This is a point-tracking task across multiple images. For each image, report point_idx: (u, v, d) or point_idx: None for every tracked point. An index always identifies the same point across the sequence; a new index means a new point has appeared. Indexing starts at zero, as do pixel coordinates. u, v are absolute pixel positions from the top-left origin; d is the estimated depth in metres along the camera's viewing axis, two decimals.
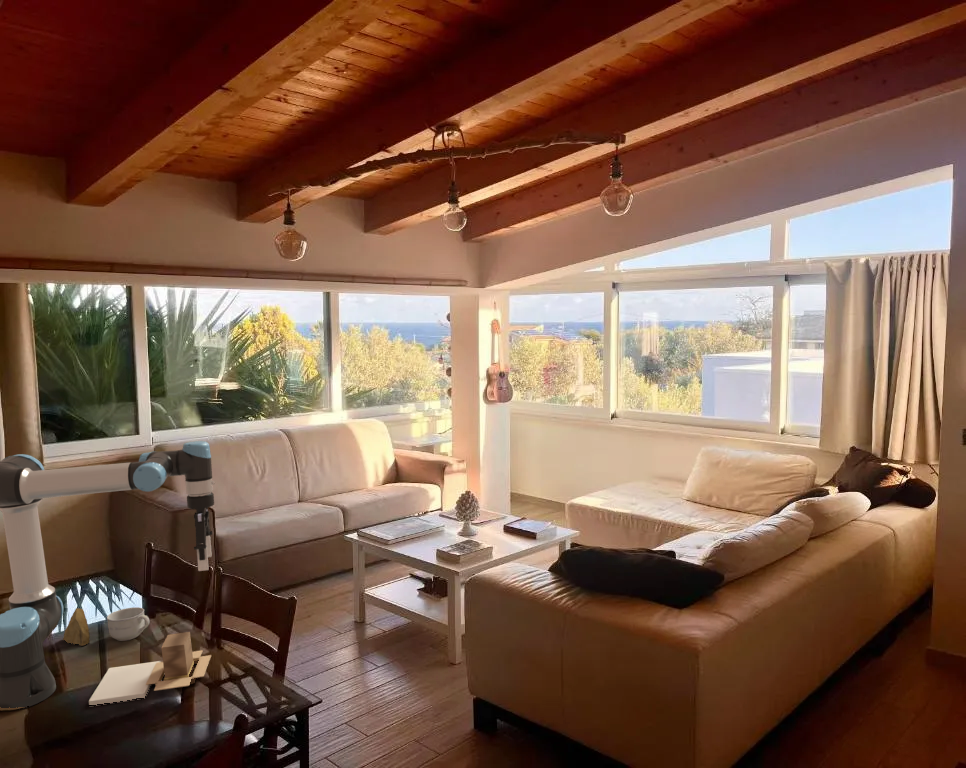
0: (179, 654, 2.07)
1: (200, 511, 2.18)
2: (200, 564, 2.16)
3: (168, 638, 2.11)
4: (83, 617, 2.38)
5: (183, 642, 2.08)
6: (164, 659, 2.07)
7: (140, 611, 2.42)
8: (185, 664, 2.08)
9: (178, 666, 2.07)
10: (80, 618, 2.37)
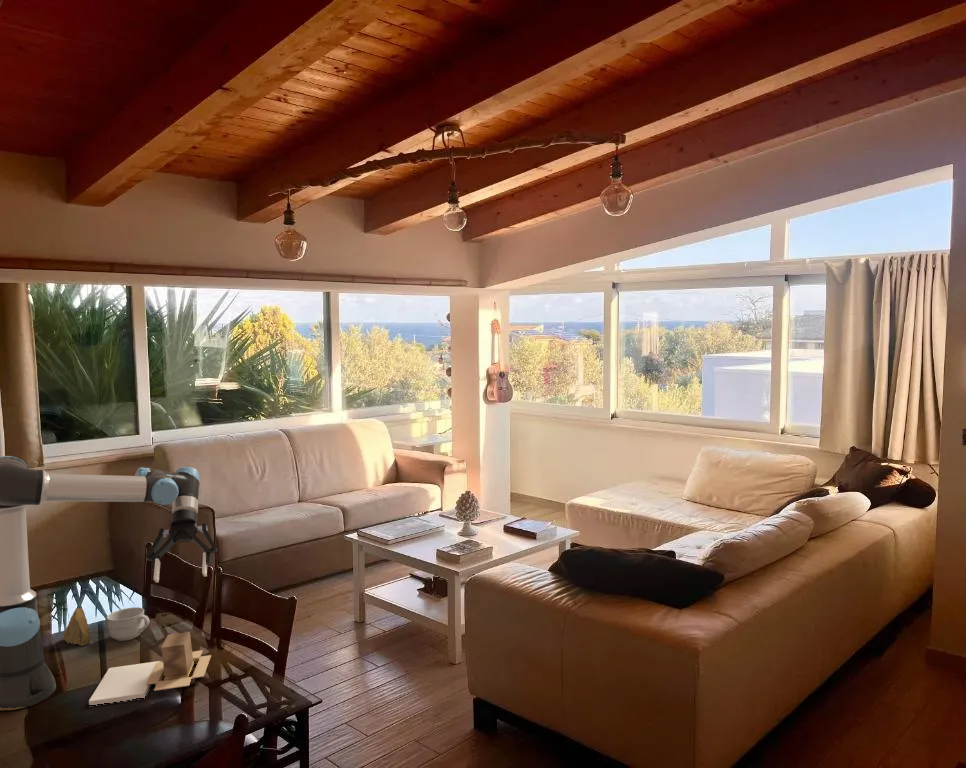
0: (179, 654, 2.07)
1: None
2: (205, 567, 2.22)
3: (168, 638, 2.11)
4: (83, 617, 2.38)
5: (183, 642, 2.08)
6: (164, 659, 2.07)
7: (140, 611, 2.42)
8: (185, 664, 2.08)
9: (178, 666, 2.07)
10: (80, 618, 2.37)
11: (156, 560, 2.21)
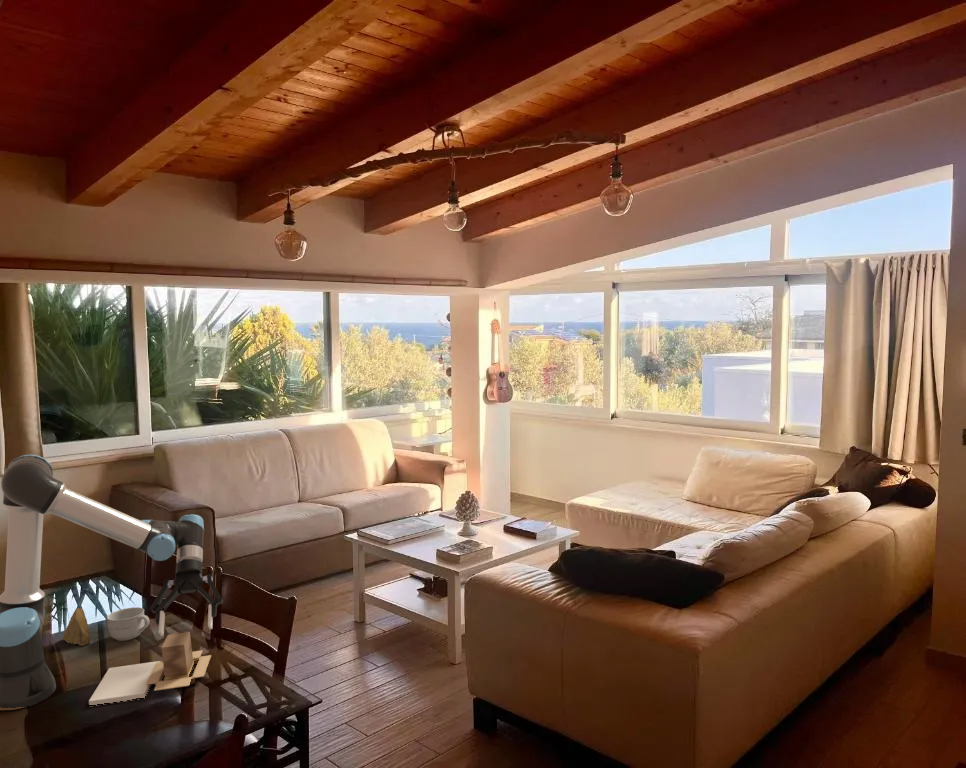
0: (179, 654, 2.07)
1: None
2: (211, 620, 2.19)
3: (168, 638, 2.11)
4: (83, 617, 2.38)
5: (183, 642, 2.08)
6: (164, 659, 2.07)
7: (140, 611, 2.42)
8: (185, 664, 2.08)
9: (178, 666, 2.07)
10: (80, 618, 2.37)
11: (161, 613, 2.18)
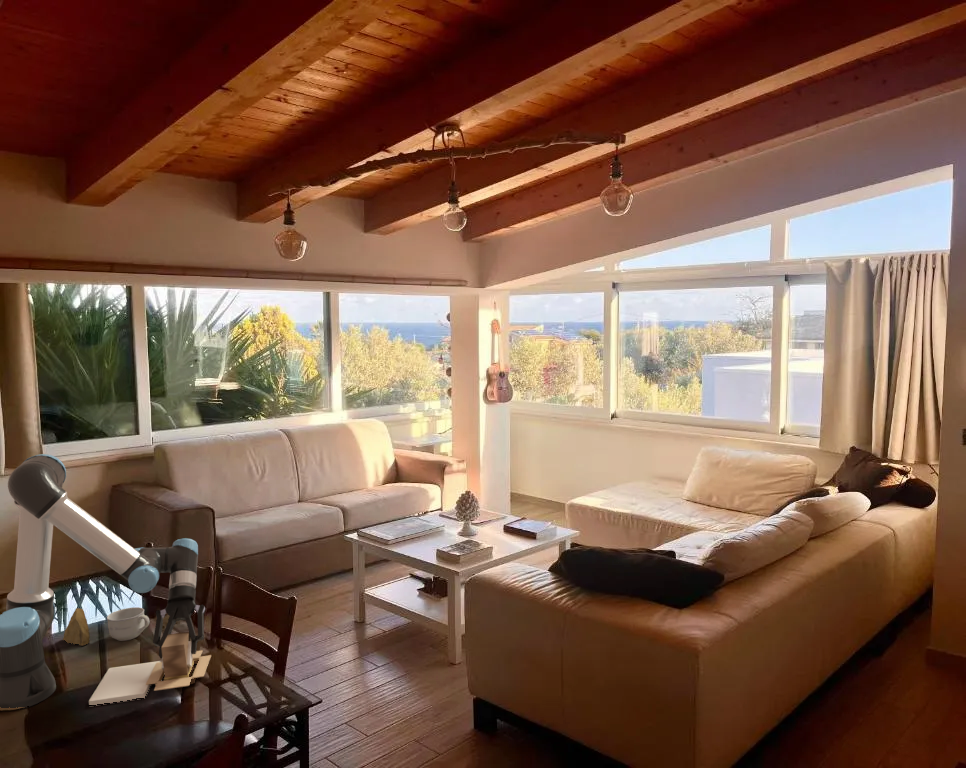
0: (179, 654, 2.07)
1: None
2: (190, 657, 2.10)
3: (168, 638, 2.11)
4: (83, 617, 2.38)
5: (183, 642, 2.08)
6: (164, 659, 2.07)
7: (140, 611, 2.42)
8: (185, 664, 2.08)
9: (178, 666, 2.07)
10: (80, 618, 2.37)
11: None
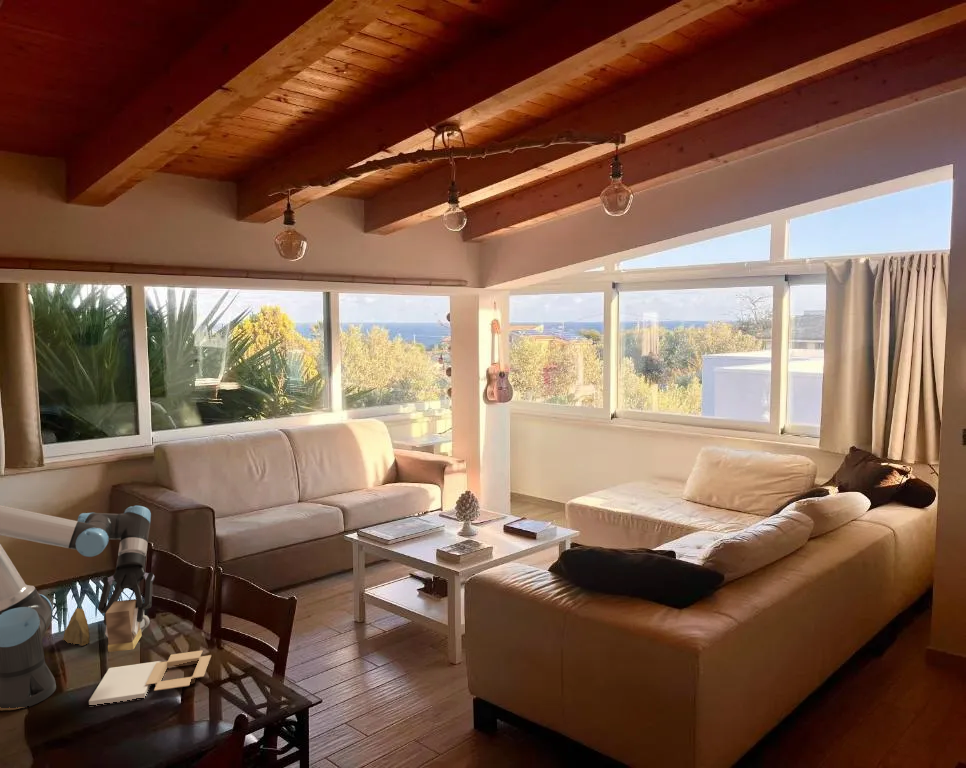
0: (124, 621, 2.02)
1: None
2: (135, 625, 2.05)
3: (114, 604, 2.07)
4: (83, 617, 2.38)
5: (128, 609, 2.03)
6: (108, 625, 2.02)
7: None
8: (130, 631, 2.03)
9: (122, 632, 2.03)
10: (80, 618, 2.37)
11: None
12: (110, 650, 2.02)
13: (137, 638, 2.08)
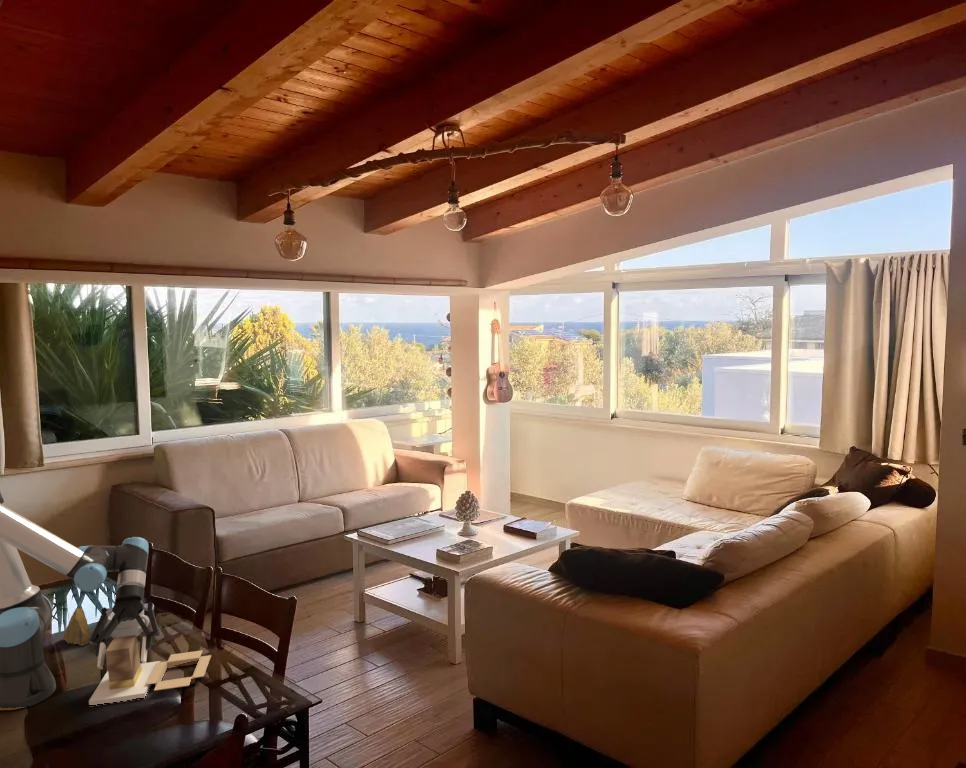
0: (124, 658, 2.04)
1: None
2: (144, 653, 2.07)
3: (114, 641, 2.08)
4: (83, 617, 2.38)
5: (128, 646, 2.05)
6: (108, 663, 2.03)
7: None
8: (130, 668, 2.04)
9: (123, 670, 2.04)
10: (80, 618, 2.37)
11: (101, 644, 2.07)
12: (111, 687, 2.04)
13: (138, 674, 2.09)
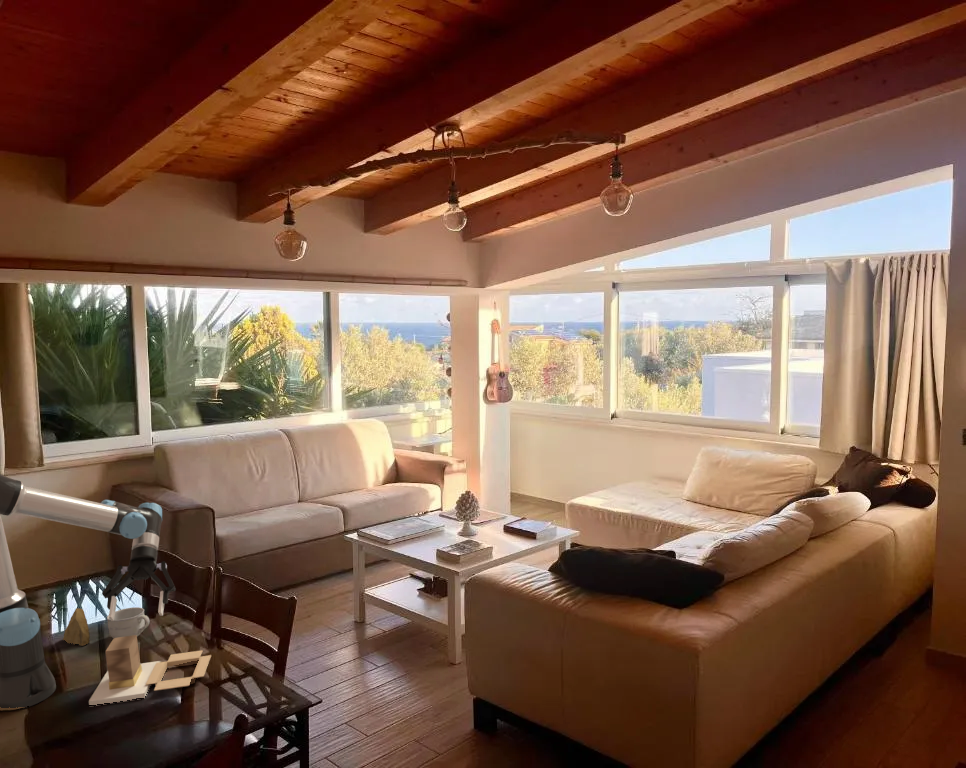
0: (124, 658, 2.04)
1: (155, 563, 2.29)
2: (161, 606, 2.20)
3: (114, 641, 2.08)
4: (83, 617, 2.38)
5: (128, 646, 2.05)
6: (108, 663, 2.03)
7: (140, 611, 2.42)
8: (130, 668, 2.04)
9: (123, 670, 2.04)
10: (80, 618, 2.37)
11: (112, 598, 2.20)
12: (111, 687, 2.04)
13: (138, 674, 2.09)
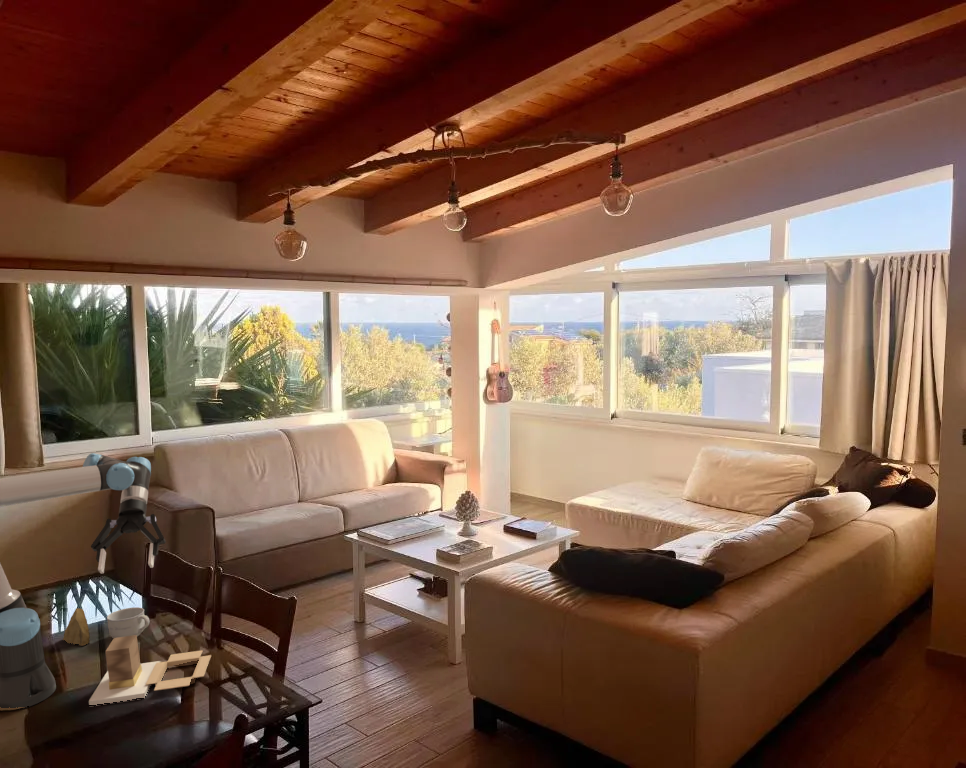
0: (124, 658, 2.04)
1: (145, 516, 2.27)
2: (151, 558, 2.18)
3: (114, 641, 2.08)
4: (83, 617, 2.38)
5: (128, 646, 2.05)
6: (108, 663, 2.03)
7: (140, 611, 2.42)
8: (130, 668, 2.04)
9: (123, 670, 2.04)
10: (80, 618, 2.37)
11: (101, 550, 2.17)
12: (111, 687, 2.04)
13: (138, 674, 2.09)
